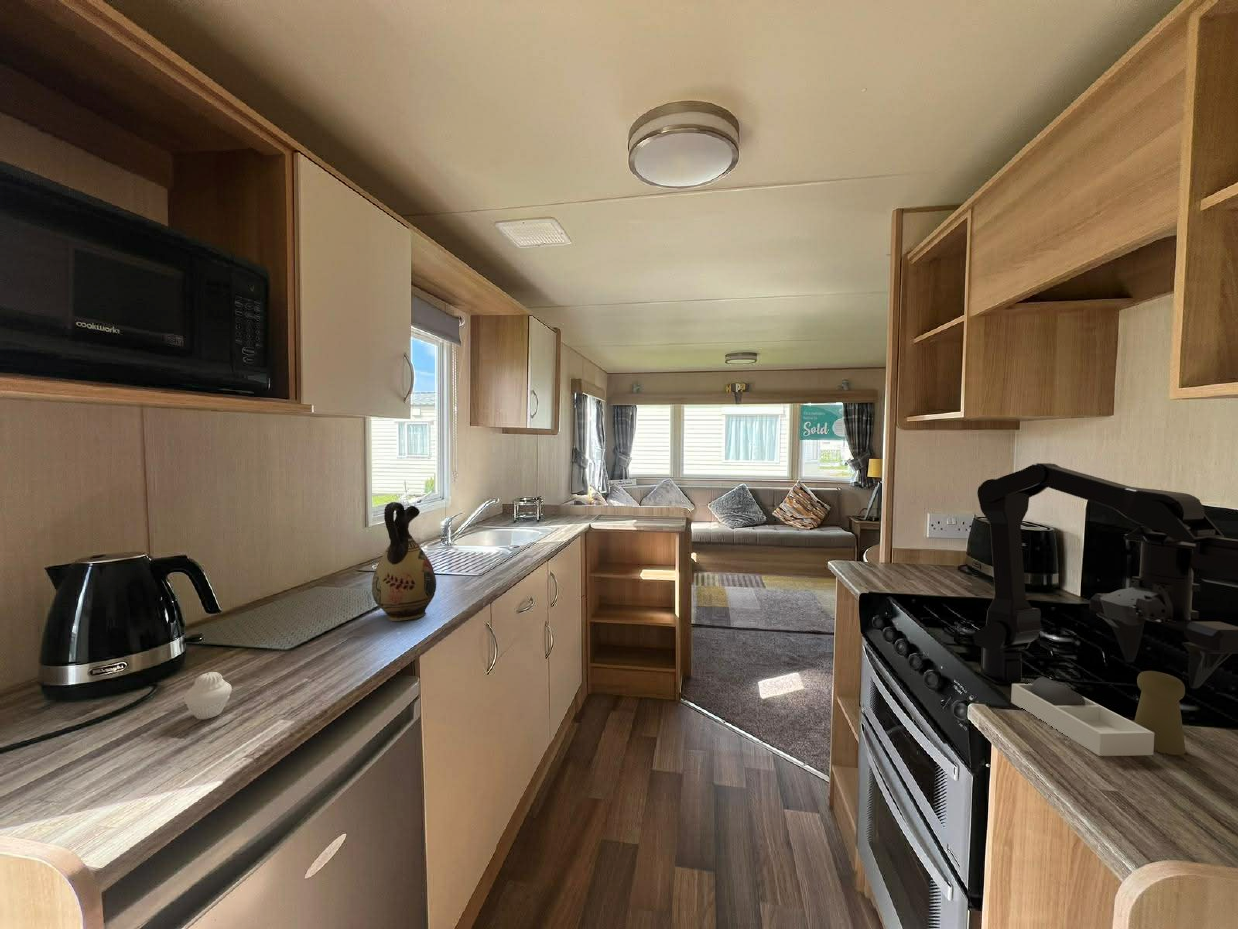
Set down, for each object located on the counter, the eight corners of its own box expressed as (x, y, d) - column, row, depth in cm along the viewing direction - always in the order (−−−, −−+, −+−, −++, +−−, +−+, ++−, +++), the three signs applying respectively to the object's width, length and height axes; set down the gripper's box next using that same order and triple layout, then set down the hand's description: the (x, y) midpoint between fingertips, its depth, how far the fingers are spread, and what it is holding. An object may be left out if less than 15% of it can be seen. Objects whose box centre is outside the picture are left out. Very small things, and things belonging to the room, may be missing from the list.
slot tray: (1011, 702, 94) (1011, 683, 94) (1056, 701, 95) (1057, 683, 95) (1099, 756, 78) (1100, 733, 78) (1153, 755, 79) (1154, 732, 78)
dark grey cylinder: (1029, 697, 93) (1033, 675, 93) (1050, 700, 93) (1054, 678, 93) (1060, 715, 87) (1064, 691, 87) (1082, 717, 87) (1087, 694, 87)
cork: (1128, 729, 86) (1131, 663, 86) (1181, 742, 82) (1185, 673, 82) (1132, 745, 81) (1136, 675, 81) (1189, 760, 77) (1193, 687, 77)
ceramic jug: (394, 605, 145) (394, 497, 144) (446, 608, 143) (447, 499, 142) (354, 625, 128) (353, 503, 127) (412, 630, 126) (412, 505, 125)
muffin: (239, 703, 90) (238, 663, 89) (221, 722, 84) (221, 679, 83) (196, 707, 88) (196, 666, 88) (175, 726, 82) (175, 682, 82)
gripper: (1061, 560, 90) (1057, 650, 90) (1185, 591, 71) (1178, 704, 72) (1123, 560, 90) (1118, 650, 91) (1261, 591, 72) (1254, 703, 72)
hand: (1160, 674), depth 81 cm, fingers open, 9 cm apart
